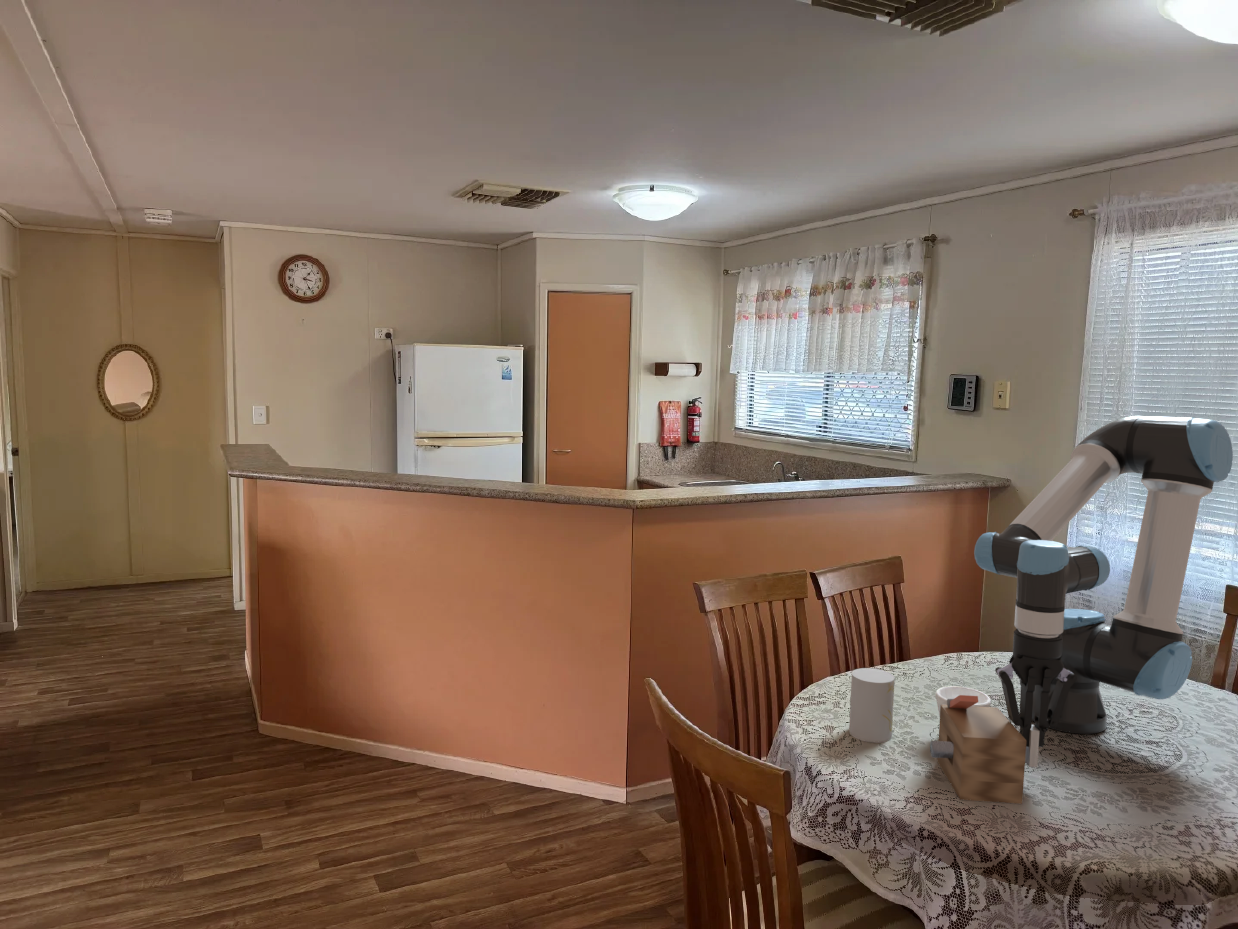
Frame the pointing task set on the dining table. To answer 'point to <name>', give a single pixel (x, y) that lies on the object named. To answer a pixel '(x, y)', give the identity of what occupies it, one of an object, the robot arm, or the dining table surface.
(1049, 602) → the robot arm
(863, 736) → the cup
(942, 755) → the hitch pin
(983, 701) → the cup
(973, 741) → the block
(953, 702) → the keeper tab
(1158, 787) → the dining table surface
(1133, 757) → the dining table surface
